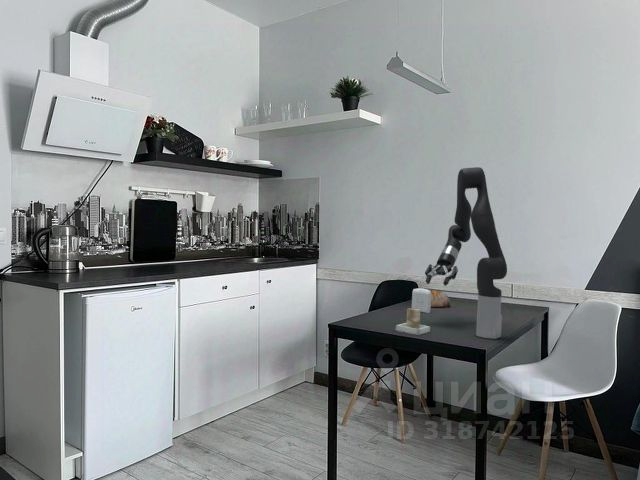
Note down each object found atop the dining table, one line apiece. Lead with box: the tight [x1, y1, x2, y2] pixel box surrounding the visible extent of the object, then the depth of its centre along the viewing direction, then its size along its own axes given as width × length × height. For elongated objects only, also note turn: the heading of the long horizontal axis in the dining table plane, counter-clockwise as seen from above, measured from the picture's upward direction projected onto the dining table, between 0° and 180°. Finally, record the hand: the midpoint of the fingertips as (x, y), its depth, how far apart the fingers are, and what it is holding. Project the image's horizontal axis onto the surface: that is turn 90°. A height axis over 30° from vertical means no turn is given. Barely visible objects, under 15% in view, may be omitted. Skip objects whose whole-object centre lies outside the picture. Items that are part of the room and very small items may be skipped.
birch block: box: [405, 307, 421, 329], centre depth 215 cm, size 4×4×9 cm
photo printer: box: [411, 287, 432, 314], centre depth 265 cm, size 10×4×12 cm, turn 56°
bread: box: [428, 289, 451, 309], centre depth 287 cm, size 16×20×10 cm
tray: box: [395, 322, 431, 336], centre depth 215 cm, size 11×10×2 cm
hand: (435, 283), depth 226 cm, fingers open, 8 cm apart
